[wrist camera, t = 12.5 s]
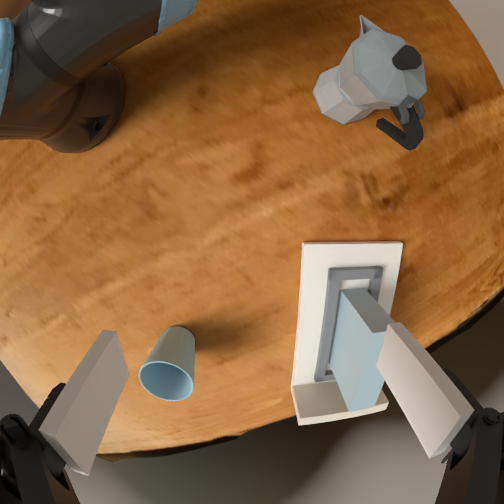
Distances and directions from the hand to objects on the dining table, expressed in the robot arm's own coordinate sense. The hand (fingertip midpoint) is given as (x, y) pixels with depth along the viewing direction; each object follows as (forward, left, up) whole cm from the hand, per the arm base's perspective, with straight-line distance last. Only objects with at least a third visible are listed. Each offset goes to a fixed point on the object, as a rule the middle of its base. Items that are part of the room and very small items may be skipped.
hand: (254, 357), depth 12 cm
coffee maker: (-18, +14, -27) cm, 35 cm away
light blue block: (+16, +16, -26) cm, 34 cm away
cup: (+18, -11, -27) cm, 34 cm away
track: (+16, +16, -27) cm, 35 cm away
